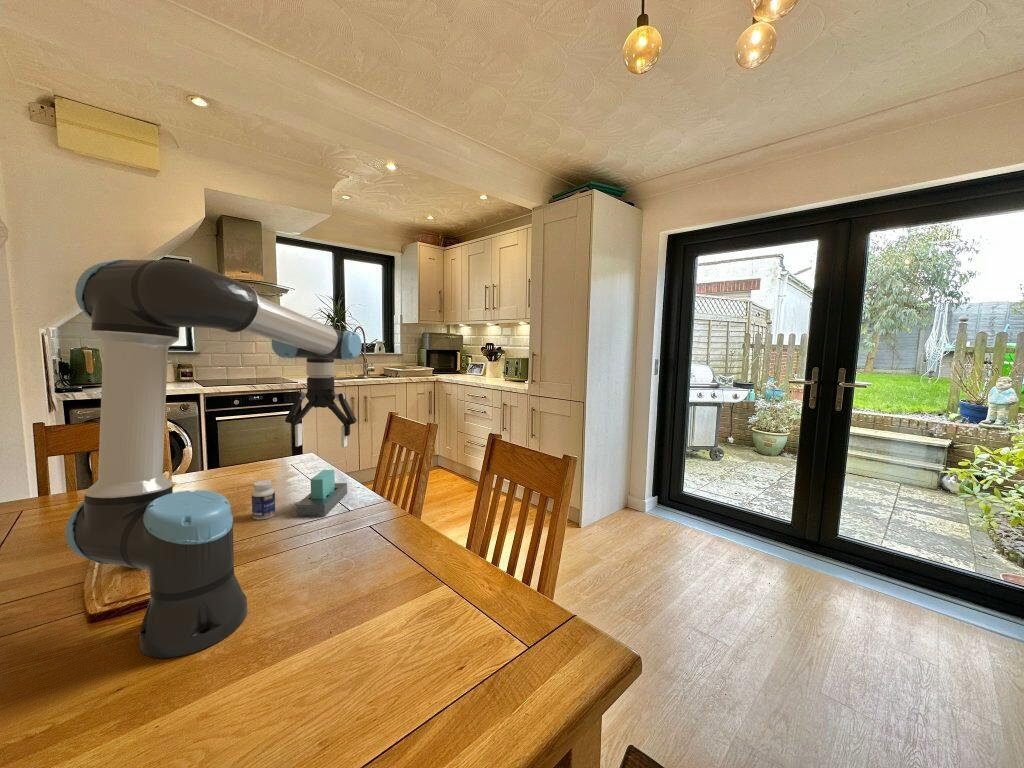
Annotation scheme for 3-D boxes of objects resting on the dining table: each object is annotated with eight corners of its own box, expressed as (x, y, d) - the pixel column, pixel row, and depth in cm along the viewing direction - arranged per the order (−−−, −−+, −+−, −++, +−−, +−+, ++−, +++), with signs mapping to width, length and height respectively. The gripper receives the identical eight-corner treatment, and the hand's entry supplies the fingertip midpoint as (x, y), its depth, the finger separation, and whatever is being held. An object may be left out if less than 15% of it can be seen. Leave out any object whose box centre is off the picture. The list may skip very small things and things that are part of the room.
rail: (324, 516, 117) (324, 505, 117) (296, 516, 117) (296, 504, 117) (347, 493, 135) (347, 483, 135) (322, 493, 135) (322, 482, 134)
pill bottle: (267, 520, 114) (266, 486, 113) (247, 520, 114) (246, 485, 113) (279, 512, 120) (278, 479, 119) (260, 511, 120) (259, 478, 119)
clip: (323, 508, 122) (322, 479, 121) (311, 508, 122) (310, 479, 121) (334, 497, 131) (334, 469, 130) (323, 496, 130) (323, 469, 129)
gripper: (366, 376, 126) (367, 443, 128) (284, 374, 125) (286, 442, 127) (358, 378, 119) (359, 449, 121) (271, 376, 118) (273, 448, 120)
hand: (321, 446), depth 124 cm, fingers open, 13 cm apart
